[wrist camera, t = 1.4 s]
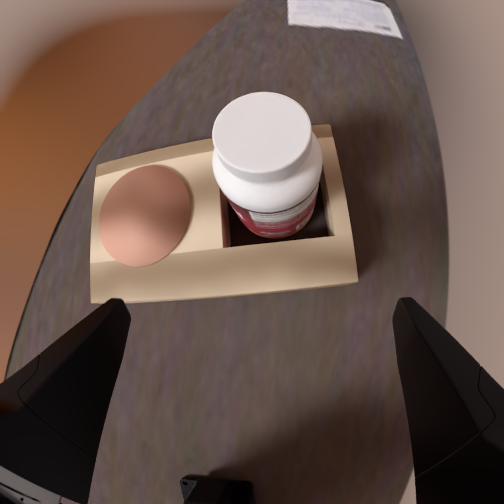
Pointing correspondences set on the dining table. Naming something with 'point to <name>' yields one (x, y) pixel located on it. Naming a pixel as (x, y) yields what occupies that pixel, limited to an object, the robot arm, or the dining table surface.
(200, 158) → the board
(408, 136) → the dining table surface
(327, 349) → the dining table surface
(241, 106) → the pill bottle
